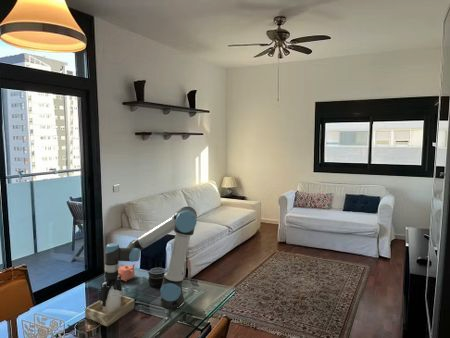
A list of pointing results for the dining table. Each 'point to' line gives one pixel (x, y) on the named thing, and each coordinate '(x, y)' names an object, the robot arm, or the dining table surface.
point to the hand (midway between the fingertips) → (110, 307)
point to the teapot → (126, 272)
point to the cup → (113, 300)
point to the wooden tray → (107, 318)
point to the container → (156, 277)
